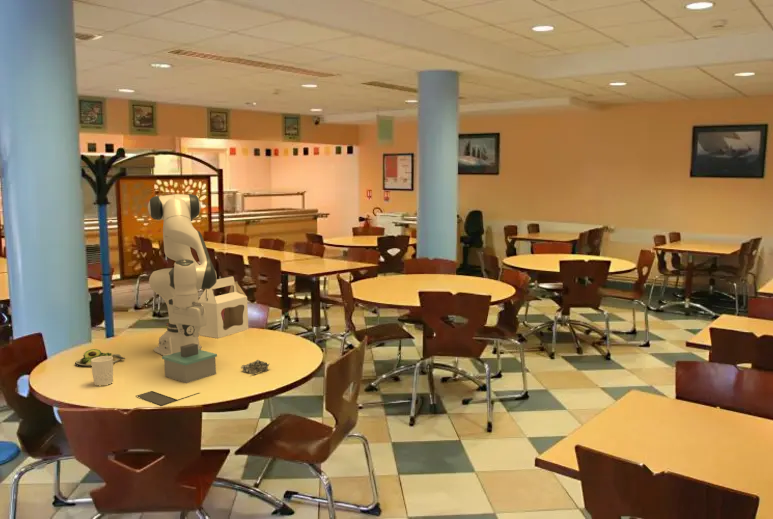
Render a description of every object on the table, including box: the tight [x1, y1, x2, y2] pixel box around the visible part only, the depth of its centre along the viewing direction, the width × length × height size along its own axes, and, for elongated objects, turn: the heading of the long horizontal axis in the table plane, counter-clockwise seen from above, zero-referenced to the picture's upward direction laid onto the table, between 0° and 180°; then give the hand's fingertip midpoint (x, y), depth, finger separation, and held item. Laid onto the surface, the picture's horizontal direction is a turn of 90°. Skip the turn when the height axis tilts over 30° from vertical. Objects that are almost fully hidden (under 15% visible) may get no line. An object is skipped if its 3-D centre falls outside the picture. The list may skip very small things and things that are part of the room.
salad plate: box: [74, 348, 126, 367], centre depth 281 cm, size 19×18×5 cm
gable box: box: [198, 275, 249, 339], centre depth 329 cm, size 22×13×28 cm, turn 149°
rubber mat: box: [136, 390, 200, 407], centre depth 238 cm, size 16×16×1 cm
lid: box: [161, 343, 218, 365], centre depth 258 cm, size 15×15×6 cm
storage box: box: [163, 357, 217, 384], centre depth 259 cm, size 14×14×8 cm
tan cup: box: [91, 356, 114, 386], centre depth 251 cm, size 8×8×10 cm
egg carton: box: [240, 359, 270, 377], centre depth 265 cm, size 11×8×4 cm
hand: (188, 335), depth 256 cm, fingers open, 8 cm apart
